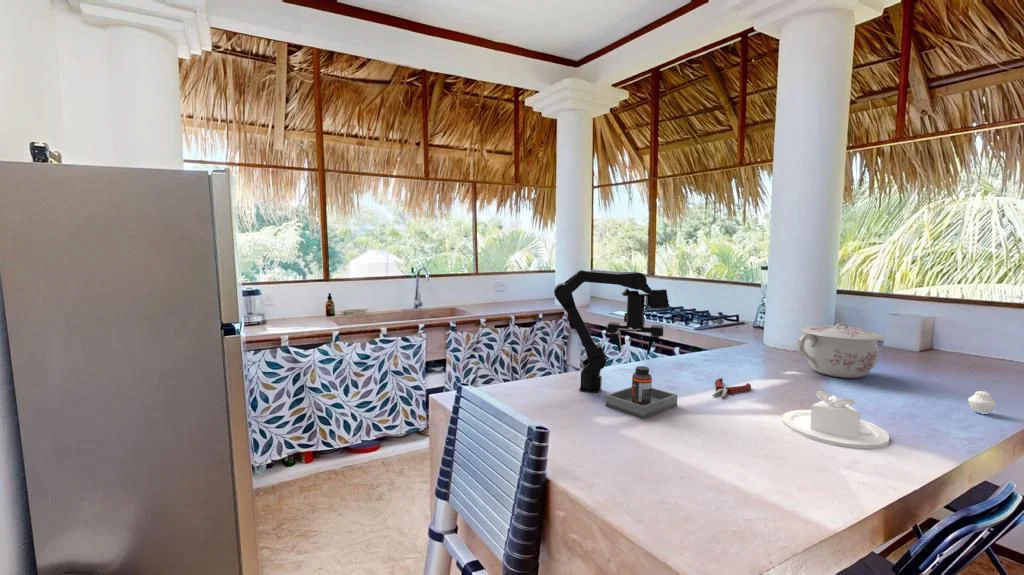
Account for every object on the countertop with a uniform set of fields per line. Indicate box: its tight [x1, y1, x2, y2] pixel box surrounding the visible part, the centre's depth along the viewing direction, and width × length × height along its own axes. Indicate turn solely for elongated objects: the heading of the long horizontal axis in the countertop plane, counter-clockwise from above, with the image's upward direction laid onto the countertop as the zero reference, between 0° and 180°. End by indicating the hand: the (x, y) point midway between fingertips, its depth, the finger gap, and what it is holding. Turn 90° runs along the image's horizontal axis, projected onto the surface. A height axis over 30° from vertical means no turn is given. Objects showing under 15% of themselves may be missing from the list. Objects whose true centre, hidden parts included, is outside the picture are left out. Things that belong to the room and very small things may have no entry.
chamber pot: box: [797, 321, 886, 379], centre depth 189 cm, size 28×28×21 cm
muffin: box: [967, 390, 997, 413], centre depth 147 cm, size 6×6×7 cm
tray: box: [605, 386, 678, 419], centre depth 150 cm, size 14×18×4 cm
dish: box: [781, 390, 890, 450], centre depth 133 cm, size 25×25×11 cm
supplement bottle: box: [631, 365, 653, 405], centre depth 150 cm, size 6×6×11 cm
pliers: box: [712, 377, 752, 399], centre depth 165 cm, size 12×20×3 cm, turn 139°
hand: (633, 353), depth 164 cm, fingers open, 9 cm apart
